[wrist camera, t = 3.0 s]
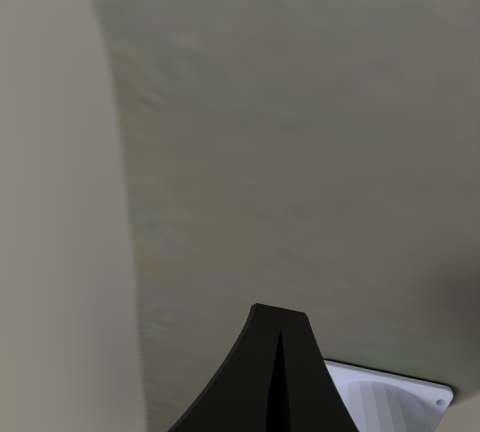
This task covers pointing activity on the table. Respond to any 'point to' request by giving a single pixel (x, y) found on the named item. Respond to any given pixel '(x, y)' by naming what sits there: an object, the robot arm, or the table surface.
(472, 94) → the table surface
